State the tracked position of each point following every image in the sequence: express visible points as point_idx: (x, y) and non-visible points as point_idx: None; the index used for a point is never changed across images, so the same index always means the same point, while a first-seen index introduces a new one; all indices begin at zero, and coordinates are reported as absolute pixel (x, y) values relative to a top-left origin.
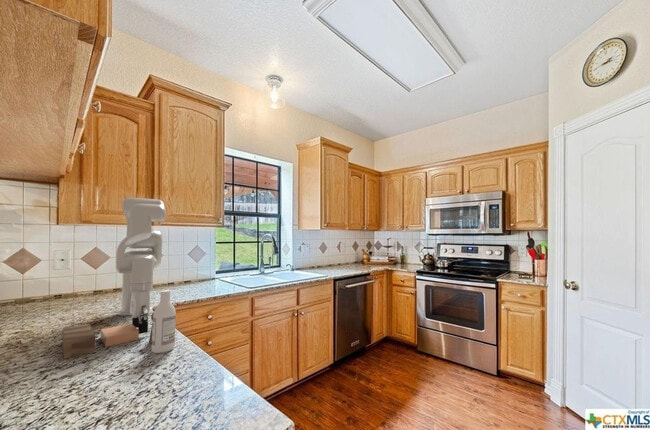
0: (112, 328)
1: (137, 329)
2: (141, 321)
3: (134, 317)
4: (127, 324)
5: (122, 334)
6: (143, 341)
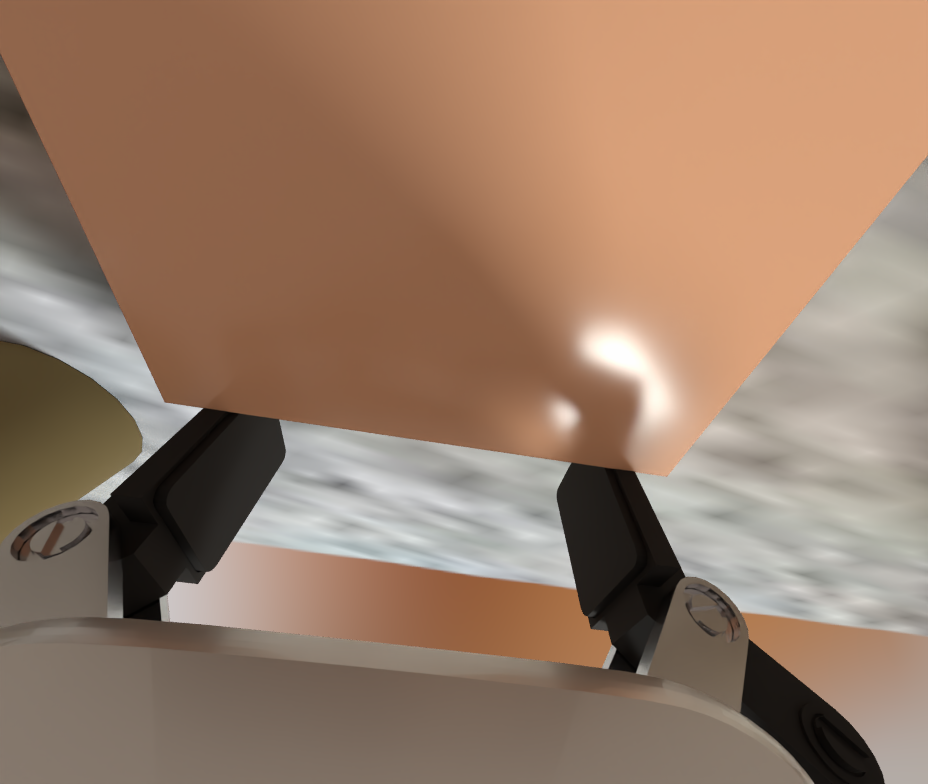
0: (804, 123)
1: (238, 409)
2: (17, 558)
3: (42, 635)
4: (697, 434)
5: (40, 105)
6: (111, 334)
